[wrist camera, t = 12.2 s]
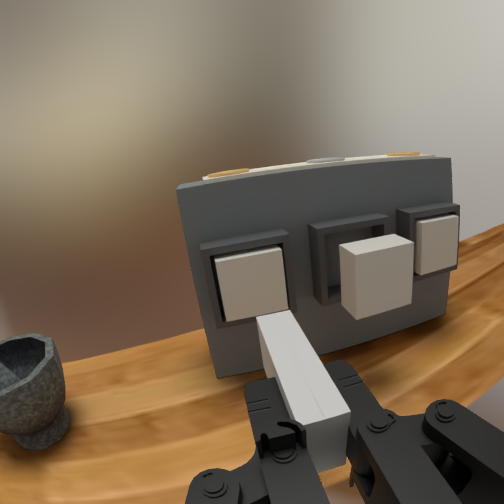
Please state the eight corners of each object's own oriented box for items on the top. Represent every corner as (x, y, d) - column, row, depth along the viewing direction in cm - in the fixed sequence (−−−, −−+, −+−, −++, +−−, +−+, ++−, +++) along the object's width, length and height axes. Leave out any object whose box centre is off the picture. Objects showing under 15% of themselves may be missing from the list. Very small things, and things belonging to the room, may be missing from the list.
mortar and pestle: (93, 389, 26) (47, 270, 22) (82, 462, 17) (1, 321, 13) (5, 399, 23) (-45, 294, 20) (-21, 461, 14) (-97, 340, 11)
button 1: (279, 295, 25) (273, 240, 24) (288, 309, 23) (281, 249, 21) (223, 307, 24) (213, 252, 23) (226, 321, 22) (215, 262, 21)
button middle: (393, 290, 23) (393, 233, 21) (411, 303, 20) (413, 242, 19) (341, 304, 22) (338, 244, 21) (356, 319, 20) (355, 254, 18)
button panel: (419, 296, 34) (418, 151, 29) (456, 321, 27) (465, 153, 23) (213, 348, 31) (178, 178, 26) (219, 392, 25) (172, 184, 20)
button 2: (440, 256, 27) (441, 211, 26) (456, 264, 25) (458, 216, 23) (404, 266, 26) (405, 217, 25) (420, 275, 24) (422, 223, 23)
